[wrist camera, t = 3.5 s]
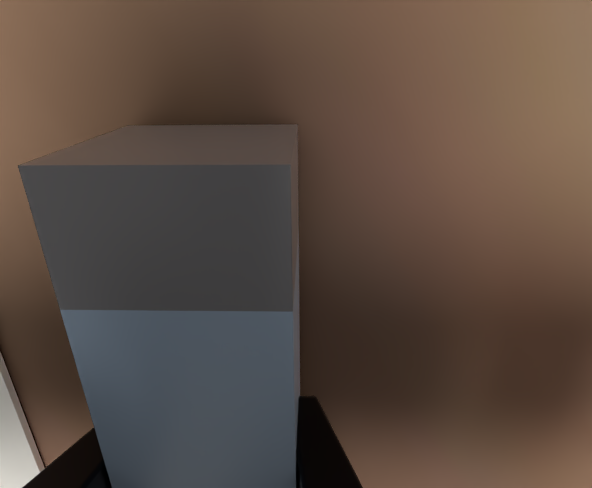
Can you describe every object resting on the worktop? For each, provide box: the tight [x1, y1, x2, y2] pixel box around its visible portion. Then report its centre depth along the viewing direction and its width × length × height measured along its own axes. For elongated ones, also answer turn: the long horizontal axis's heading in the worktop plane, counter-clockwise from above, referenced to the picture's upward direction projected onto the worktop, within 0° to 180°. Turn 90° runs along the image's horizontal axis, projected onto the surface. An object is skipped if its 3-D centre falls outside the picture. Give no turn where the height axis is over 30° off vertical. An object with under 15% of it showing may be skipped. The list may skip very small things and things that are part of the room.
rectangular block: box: [18, 124, 300, 488], centre depth 9 cm, size 12×3×3 cm, turn 1°
